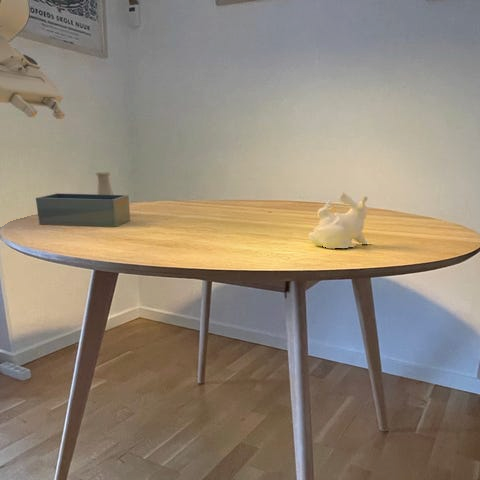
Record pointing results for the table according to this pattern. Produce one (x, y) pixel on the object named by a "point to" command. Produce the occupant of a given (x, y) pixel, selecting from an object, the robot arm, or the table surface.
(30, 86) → the robot arm
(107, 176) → the flask
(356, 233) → the rabbit figurine
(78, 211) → the open box
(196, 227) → the table surface
